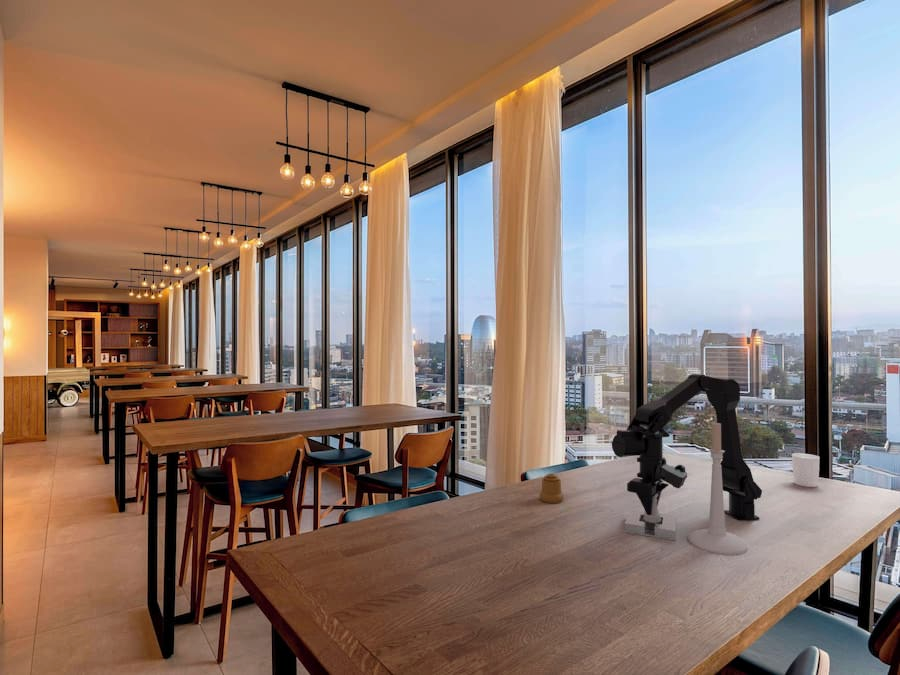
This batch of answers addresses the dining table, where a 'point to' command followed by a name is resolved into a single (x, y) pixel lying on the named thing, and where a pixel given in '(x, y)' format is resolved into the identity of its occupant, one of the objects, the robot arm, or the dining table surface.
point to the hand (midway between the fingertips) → (651, 512)
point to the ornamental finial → (551, 489)
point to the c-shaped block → (651, 525)
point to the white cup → (805, 469)
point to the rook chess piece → (653, 513)
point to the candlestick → (717, 510)
